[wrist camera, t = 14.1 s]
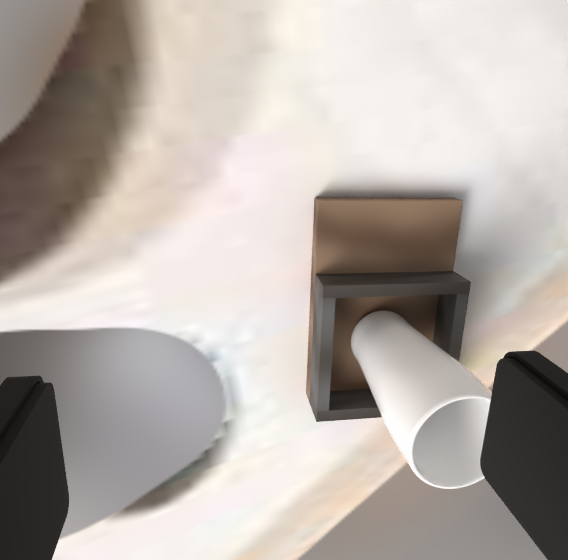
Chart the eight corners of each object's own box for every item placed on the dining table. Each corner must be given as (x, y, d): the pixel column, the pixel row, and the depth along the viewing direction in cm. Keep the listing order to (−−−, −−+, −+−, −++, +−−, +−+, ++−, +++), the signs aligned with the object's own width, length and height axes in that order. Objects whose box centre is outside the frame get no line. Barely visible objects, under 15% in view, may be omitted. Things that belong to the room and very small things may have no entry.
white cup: (420, 299, 42) (526, 391, 28) (409, 370, 44) (504, 487, 30) (344, 299, 41) (415, 395, 27) (337, 371, 43) (400, 494, 29)
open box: (314, 197, 40) (327, 207, 36) (453, 197, 42) (481, 207, 37) (306, 393, 45) (316, 421, 41) (429, 385, 47) (451, 412, 43)
